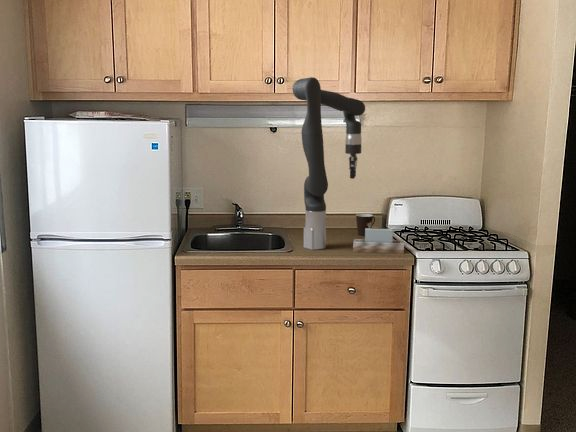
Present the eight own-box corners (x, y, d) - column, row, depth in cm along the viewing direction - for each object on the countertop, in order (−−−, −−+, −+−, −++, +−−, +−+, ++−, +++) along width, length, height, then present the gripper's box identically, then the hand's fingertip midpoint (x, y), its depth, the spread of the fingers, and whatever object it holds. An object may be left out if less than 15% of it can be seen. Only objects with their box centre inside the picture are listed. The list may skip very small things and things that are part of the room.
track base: (352, 251, 253) (353, 242, 253) (354, 247, 262) (354, 238, 261) (403, 253, 250) (404, 244, 249) (403, 249, 258) (403, 240, 258)
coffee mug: (359, 236, 285) (359, 217, 284) (353, 233, 294) (353, 214, 292) (381, 235, 288) (381, 215, 287) (374, 232, 297) (374, 213, 295)
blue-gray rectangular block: (364, 247, 255) (365, 229, 254) (365, 245, 259) (365, 228, 257) (392, 248, 253) (392, 230, 252) (392, 246, 257) (392, 228, 255)
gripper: (346, 142, 280) (346, 176, 282) (344, 144, 266) (343, 179, 268) (362, 142, 278) (361, 176, 281) (360, 144, 265) (360, 179, 267)
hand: (352, 177), depth 275 cm, fingers open, 8 cm apart
